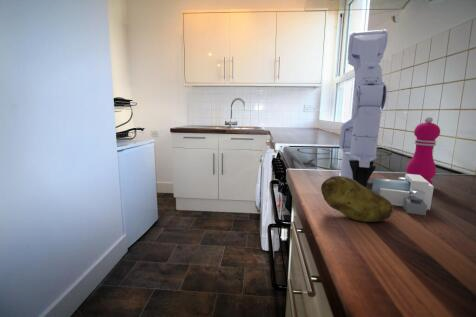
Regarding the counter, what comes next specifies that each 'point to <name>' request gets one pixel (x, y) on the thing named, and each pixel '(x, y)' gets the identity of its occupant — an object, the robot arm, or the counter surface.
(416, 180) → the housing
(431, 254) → the counter surface
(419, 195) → the plunger right
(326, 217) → the counter surface
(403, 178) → the plunger left
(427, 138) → the pepper mill
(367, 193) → the potato
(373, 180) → the cartridge
